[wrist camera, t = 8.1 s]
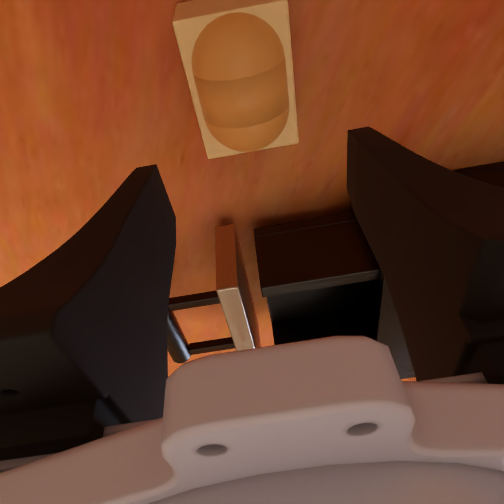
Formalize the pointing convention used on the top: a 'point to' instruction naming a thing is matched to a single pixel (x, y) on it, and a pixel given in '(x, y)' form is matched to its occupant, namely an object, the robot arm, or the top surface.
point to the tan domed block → (239, 73)
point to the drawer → (289, 286)
